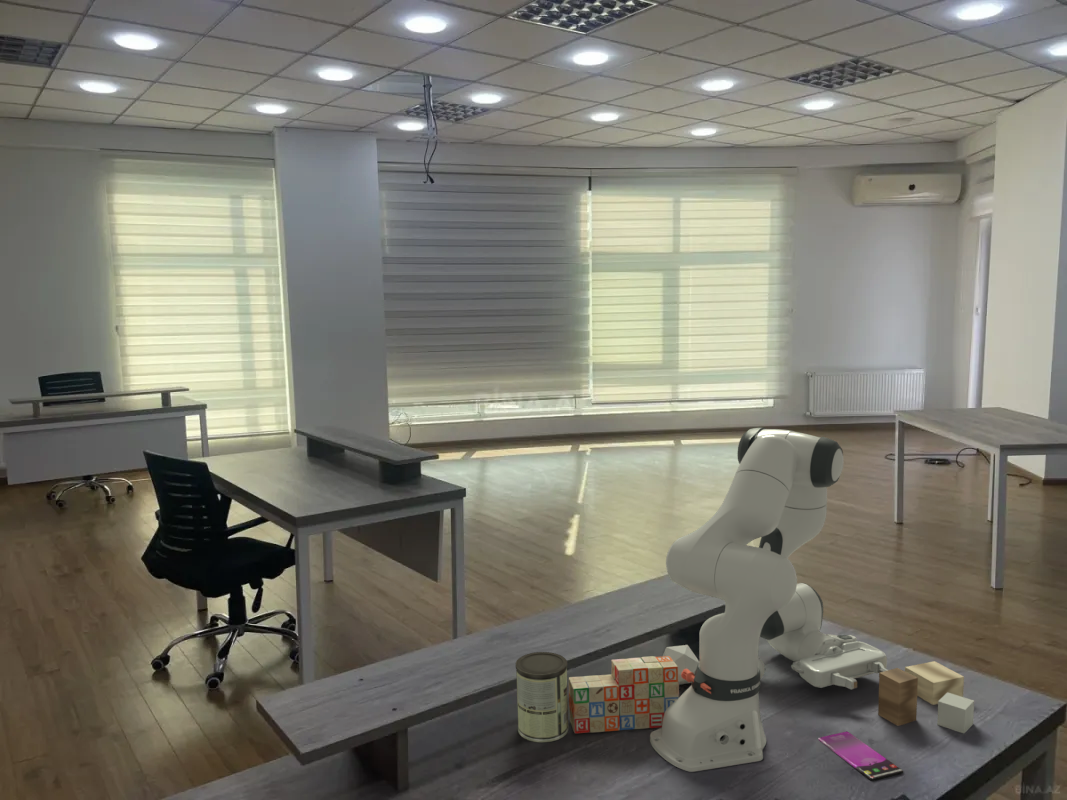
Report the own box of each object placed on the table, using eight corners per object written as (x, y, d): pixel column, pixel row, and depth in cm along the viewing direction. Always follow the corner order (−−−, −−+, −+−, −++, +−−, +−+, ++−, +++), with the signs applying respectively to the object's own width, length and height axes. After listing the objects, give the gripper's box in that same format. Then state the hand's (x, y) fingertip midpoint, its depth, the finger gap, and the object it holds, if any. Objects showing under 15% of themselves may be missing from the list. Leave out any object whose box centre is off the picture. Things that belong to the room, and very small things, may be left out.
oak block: (932, 705, 171) (933, 683, 170) (904, 688, 178) (905, 666, 178) (963, 699, 173) (964, 676, 172) (933, 682, 181) (934, 661, 180)
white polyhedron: (694, 696, 178) (711, 654, 181) (659, 678, 178) (676, 636, 181) (681, 692, 186) (697, 652, 189) (648, 675, 186) (664, 635, 188)
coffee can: (514, 719, 169) (512, 653, 167) (563, 714, 170) (561, 649, 169) (521, 745, 159) (519, 676, 157) (573, 740, 160) (572, 671, 159)
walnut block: (898, 726, 163) (899, 683, 161) (878, 714, 167) (879, 672, 166) (916, 720, 165) (917, 677, 164) (896, 709, 169) (897, 667, 168)
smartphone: (871, 783, 144) (871, 778, 144) (817, 740, 159) (817, 736, 159) (904, 775, 147) (904, 770, 147) (848, 733, 161) (848, 729, 161)
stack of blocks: (574, 735, 161) (572, 673, 161) (569, 721, 168) (567, 662, 167) (680, 726, 164) (678, 665, 163) (671, 713, 170) (669, 654, 169)
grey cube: (964, 734, 159) (965, 709, 159) (937, 724, 163) (938, 701, 162) (973, 724, 163) (974, 700, 162) (946, 715, 166) (947, 692, 166)
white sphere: (768, 685, 181) (769, 661, 180) (743, 686, 180) (743, 662, 180) (757, 670, 188) (757, 646, 188) (733, 671, 188) (733, 647, 187)
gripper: (787, 650, 179) (834, 676, 167) (857, 633, 187) (907, 656, 175) (786, 678, 180) (833, 705, 167) (856, 659, 188) (906, 684, 176)
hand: (871, 680), depth 171 cm, fingers open, 8 cm apart
